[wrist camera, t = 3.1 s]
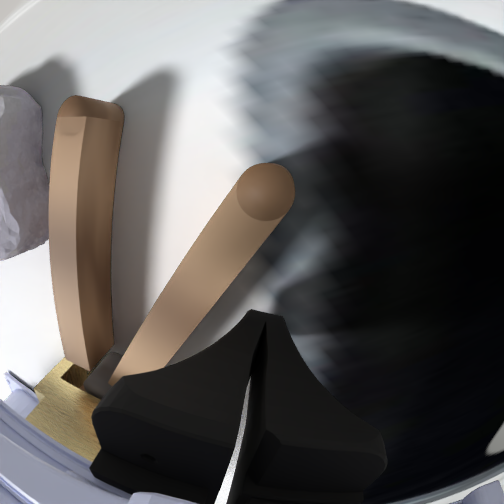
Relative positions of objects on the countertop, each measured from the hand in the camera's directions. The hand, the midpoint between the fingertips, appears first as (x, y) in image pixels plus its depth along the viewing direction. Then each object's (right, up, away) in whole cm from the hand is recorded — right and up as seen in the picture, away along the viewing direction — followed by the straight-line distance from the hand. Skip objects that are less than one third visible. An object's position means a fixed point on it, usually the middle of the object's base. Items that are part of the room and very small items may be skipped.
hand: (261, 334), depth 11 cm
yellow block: (-8, -5, +3) cm, 10 cm away
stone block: (-16, +8, +1) cm, 18 cm away
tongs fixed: (-7, +1, +2) cm, 7 cm away
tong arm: (-3, +2, +1) cm, 3 cm away
